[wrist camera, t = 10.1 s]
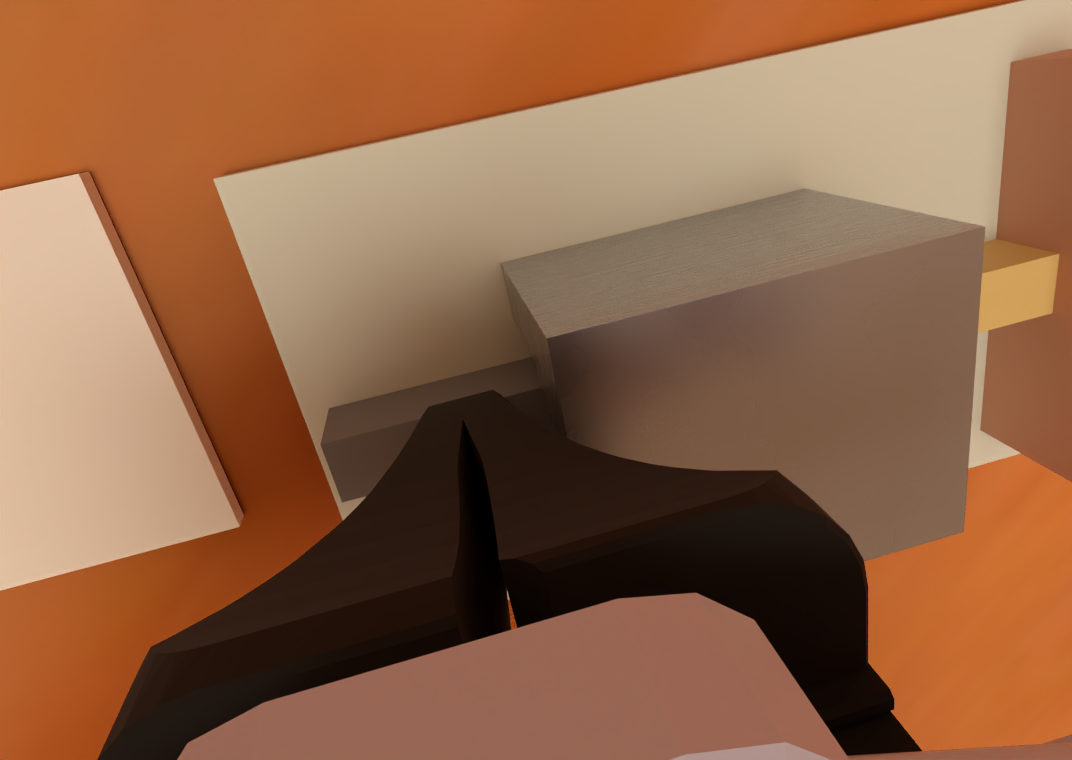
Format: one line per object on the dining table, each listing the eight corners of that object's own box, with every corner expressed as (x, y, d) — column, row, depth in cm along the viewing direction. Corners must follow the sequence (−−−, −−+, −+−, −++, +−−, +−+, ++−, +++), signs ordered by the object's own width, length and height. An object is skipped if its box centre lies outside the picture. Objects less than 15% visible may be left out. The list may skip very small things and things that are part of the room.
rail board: (1012, 438, 17) (1158, 518, 14) (386, 616, 16) (382, 752, 12) (1060, -9, 13) (1281, -46, 10) (221, 175, 12) (151, 203, 8)
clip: (813, 417, 15) (963, 531, 11) (551, 489, 14) (608, 636, 10) (805, 188, 13) (985, 226, 9) (500, 262, 12) (547, 338, 8)
